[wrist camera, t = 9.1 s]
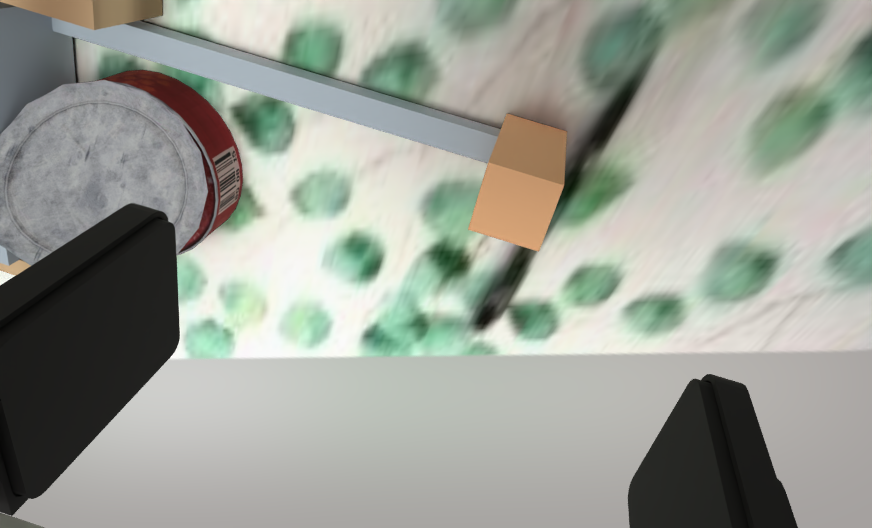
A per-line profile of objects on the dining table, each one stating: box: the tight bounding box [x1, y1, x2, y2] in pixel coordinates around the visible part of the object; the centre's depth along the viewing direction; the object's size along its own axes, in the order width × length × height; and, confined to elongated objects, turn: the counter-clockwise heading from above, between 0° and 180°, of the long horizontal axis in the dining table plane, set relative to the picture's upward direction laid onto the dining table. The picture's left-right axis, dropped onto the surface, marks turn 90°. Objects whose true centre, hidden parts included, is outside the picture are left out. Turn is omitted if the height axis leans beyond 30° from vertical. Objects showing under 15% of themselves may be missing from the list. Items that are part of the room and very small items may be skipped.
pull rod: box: [0, 2, 567, 266], centre depth 30 cm, size 28×14×7 cm, turn 77°
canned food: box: [0, 70, 243, 266], centre depth 32 cm, size 11×10×10 cm
